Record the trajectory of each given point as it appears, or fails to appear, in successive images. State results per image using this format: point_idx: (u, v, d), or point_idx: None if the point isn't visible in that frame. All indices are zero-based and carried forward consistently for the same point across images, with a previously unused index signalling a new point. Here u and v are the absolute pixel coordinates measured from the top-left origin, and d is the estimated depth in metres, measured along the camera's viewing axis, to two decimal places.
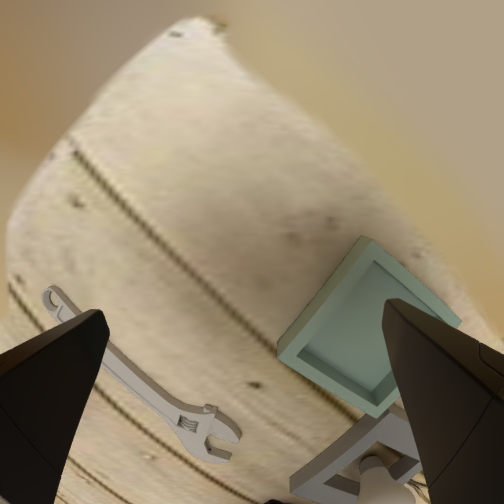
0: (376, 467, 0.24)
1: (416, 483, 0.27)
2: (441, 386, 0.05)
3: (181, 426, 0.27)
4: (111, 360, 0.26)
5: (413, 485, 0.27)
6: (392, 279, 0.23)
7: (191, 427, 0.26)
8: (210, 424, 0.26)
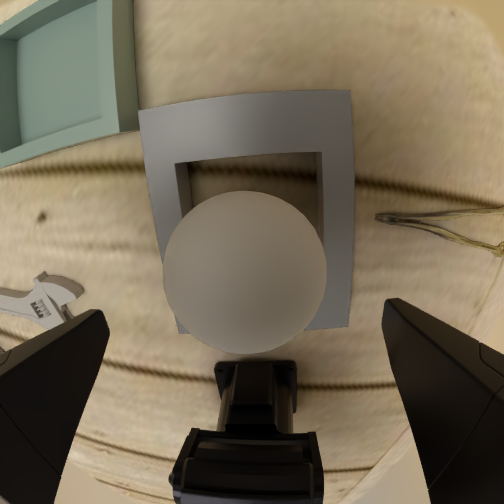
0: None
1: (412, 216, 0.18)
2: (441, 386, 0.05)
3: (42, 316, 0.23)
4: None
5: (411, 223, 0.18)
6: (46, 25, 0.14)
7: (43, 310, 0.22)
8: (45, 293, 0.21)
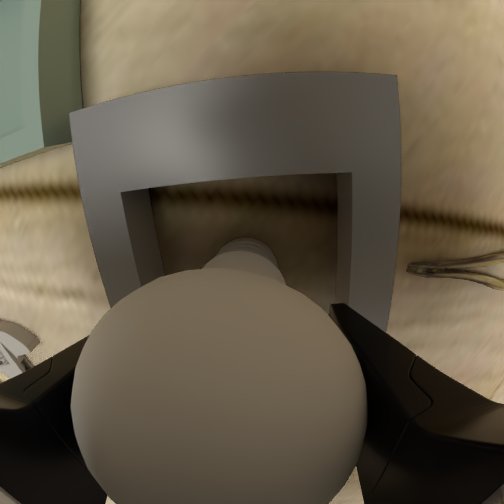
0: None
1: (455, 264, 0.12)
2: (368, 400, 0.05)
3: (2, 363, 0.17)
4: None
5: (452, 273, 0.13)
6: None
7: (1, 358, 0.16)
8: None
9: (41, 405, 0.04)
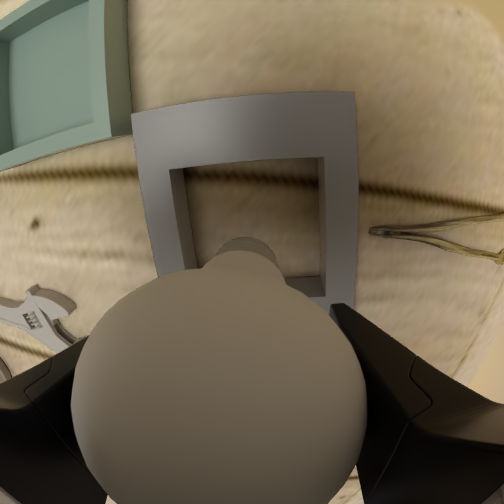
0: None
1: (408, 228, 0.18)
2: (368, 400, 0.05)
3: (34, 327, 0.22)
4: None
5: (407, 235, 0.18)
6: (38, 26, 0.13)
7: (35, 322, 0.22)
8: (37, 306, 0.21)
9: (41, 405, 0.04)
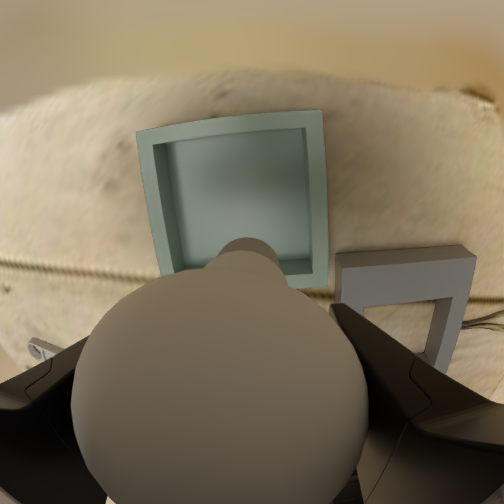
0: None
1: (475, 321, 0.24)
2: None
3: None
4: None
5: (474, 325, 0.24)
6: (211, 138, 0.19)
7: None
8: None
9: (41, 405, 0.04)
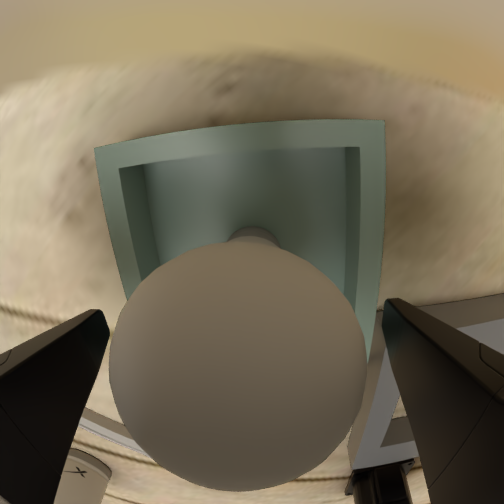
0: None
1: None
2: (441, 386, 0.05)
3: None
4: None
5: None
6: None
7: None
8: None
9: None
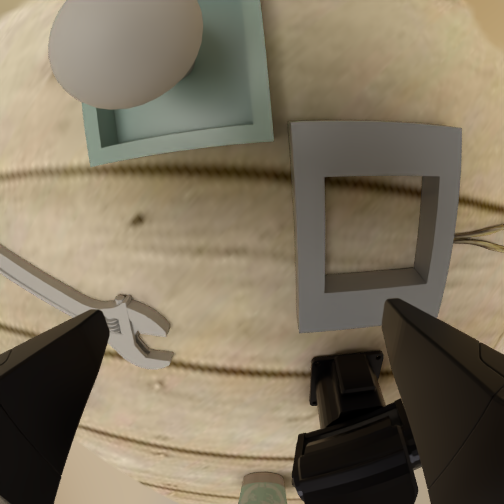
0: None
1: (465, 235, 0.20)
2: (441, 386, 0.05)
3: None
4: (26, 277, 0.23)
5: (464, 240, 0.20)
6: None
7: (113, 327, 0.24)
8: (127, 318, 0.24)
9: None
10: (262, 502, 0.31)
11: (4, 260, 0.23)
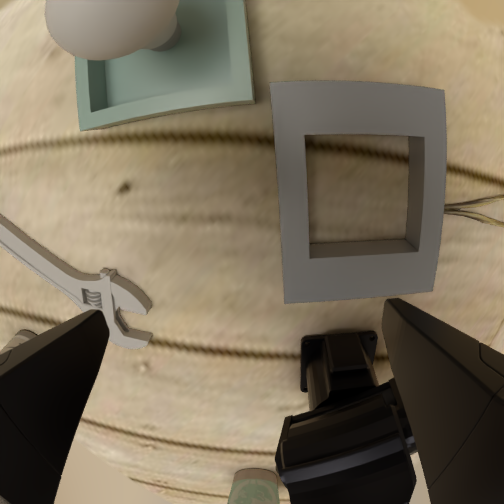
0: None
1: (455, 205, 0.20)
2: (441, 386, 0.05)
3: (88, 303, 0.24)
4: (15, 243, 0.23)
5: (454, 211, 0.20)
6: None
7: (95, 301, 0.24)
8: (110, 292, 0.23)
9: None
10: (252, 499, 0.29)
11: None
